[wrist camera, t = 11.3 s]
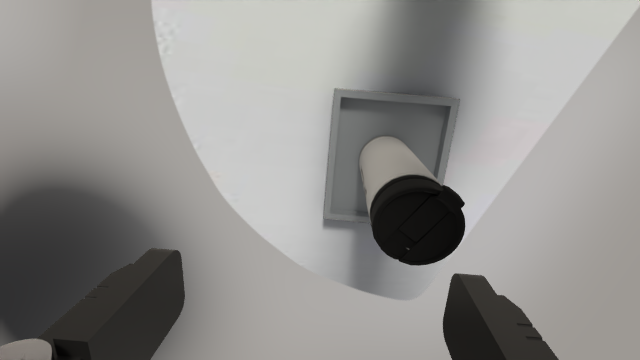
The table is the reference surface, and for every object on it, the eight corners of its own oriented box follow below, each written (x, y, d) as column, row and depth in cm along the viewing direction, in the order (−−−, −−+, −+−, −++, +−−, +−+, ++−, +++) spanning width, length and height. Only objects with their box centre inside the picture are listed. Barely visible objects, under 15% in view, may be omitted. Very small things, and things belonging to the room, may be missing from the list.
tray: (334, 88, 40) (334, 88, 38) (453, 97, 39) (459, 99, 37) (324, 211, 45) (323, 218, 42) (429, 221, 44) (433, 229, 42)
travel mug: (422, 153, 41) (492, 222, 22) (386, 193, 43) (422, 289, 24) (383, 122, 40) (420, 165, 21) (348, 163, 42) (353, 238, 23)
